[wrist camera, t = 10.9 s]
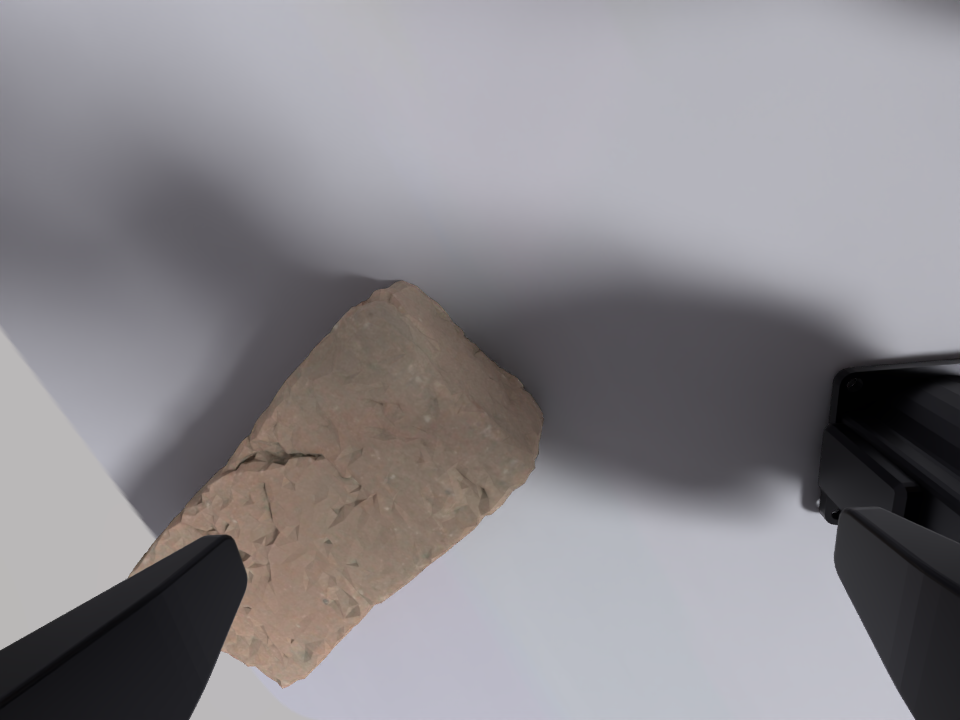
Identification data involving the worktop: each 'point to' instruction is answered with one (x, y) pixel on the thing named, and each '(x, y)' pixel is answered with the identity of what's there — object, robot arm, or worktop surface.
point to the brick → (360, 477)
